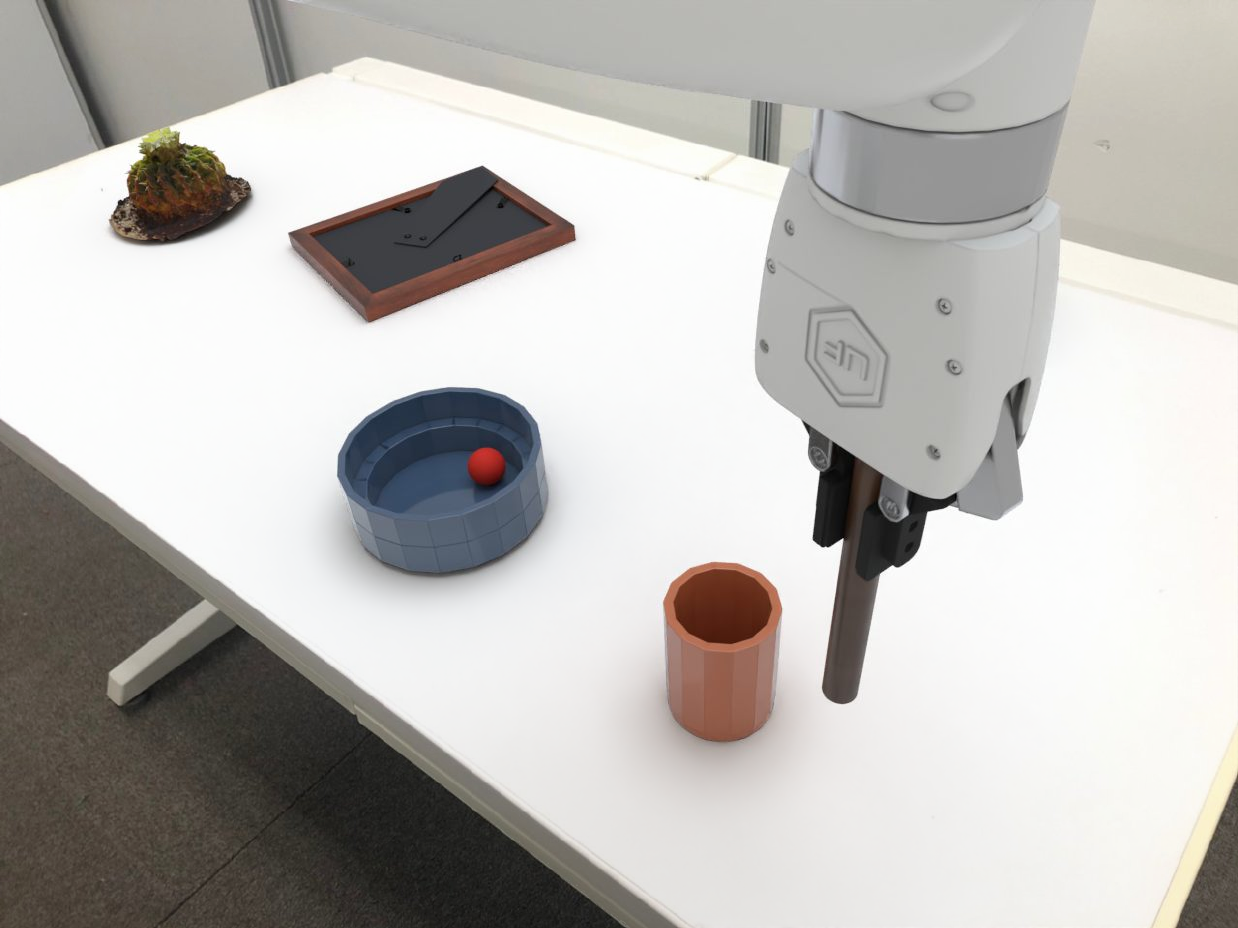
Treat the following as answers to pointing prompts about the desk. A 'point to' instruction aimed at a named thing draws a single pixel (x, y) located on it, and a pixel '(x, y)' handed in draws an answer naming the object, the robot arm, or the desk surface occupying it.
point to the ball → (486, 466)
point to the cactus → (174, 189)
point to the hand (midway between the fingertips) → (863, 544)
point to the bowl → (442, 479)
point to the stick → (851, 596)
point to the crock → (721, 649)
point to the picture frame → (429, 240)
